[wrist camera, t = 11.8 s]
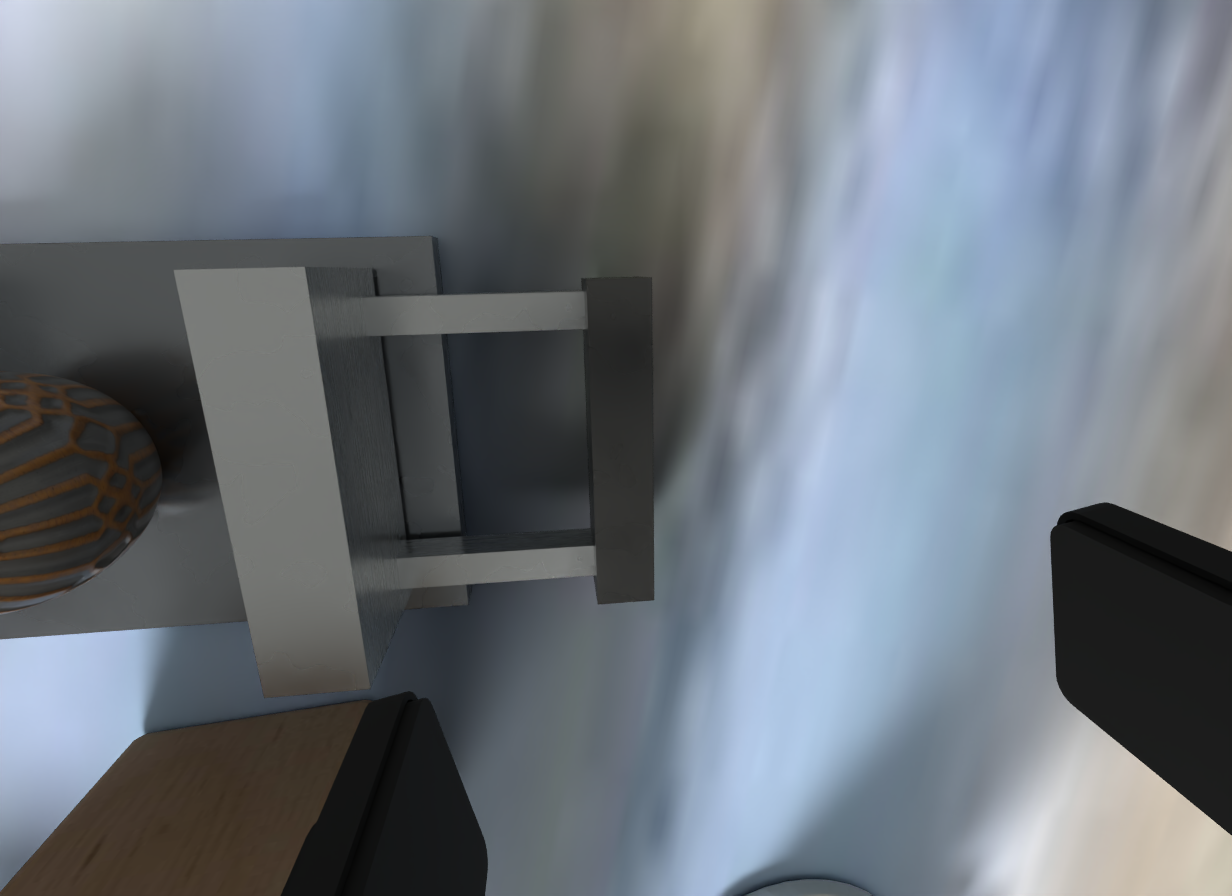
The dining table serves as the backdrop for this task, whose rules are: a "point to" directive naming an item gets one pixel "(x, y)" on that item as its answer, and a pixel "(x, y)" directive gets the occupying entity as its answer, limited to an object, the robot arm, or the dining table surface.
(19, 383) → the vase
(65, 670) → the dining table surface
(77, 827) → the wooden block
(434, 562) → the sliding jaw
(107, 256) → the vise
